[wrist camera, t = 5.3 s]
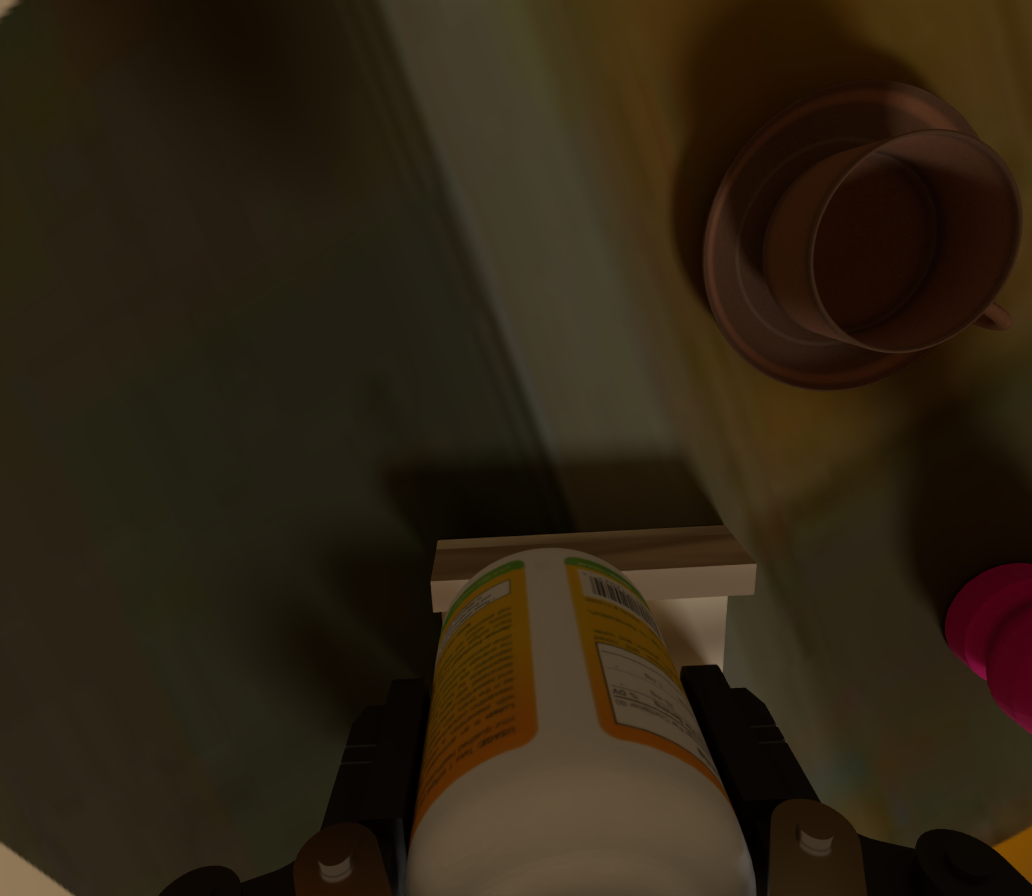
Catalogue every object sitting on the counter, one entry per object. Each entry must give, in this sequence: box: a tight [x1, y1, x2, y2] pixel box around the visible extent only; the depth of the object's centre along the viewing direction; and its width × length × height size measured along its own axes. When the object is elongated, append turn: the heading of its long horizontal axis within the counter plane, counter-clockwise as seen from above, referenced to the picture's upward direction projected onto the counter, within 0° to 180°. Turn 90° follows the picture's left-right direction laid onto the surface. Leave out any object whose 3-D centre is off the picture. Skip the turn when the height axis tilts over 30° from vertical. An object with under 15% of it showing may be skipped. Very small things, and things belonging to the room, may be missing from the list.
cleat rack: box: [431, 525, 757, 678], centre depth 29 cm, size 10×14×9 cm
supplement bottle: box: [404, 548, 757, 896], centre depth 12 cm, size 5×5×10 cm
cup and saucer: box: [702, 79, 1022, 391], centre depth 25 cm, size 12×12×6 cm
